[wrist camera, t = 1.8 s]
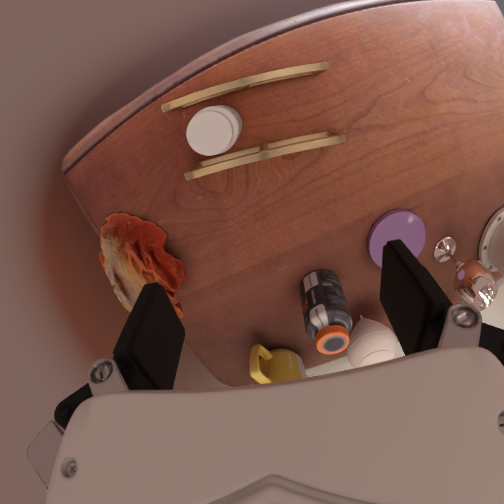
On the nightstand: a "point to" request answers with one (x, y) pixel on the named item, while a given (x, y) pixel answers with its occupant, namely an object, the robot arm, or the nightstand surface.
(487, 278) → the wineglass
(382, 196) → the nightstand surface
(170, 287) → the seashell
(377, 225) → the coaster
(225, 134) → the pill bottle
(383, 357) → the spinning top
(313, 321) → the pill bottle
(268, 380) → the mug
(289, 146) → the rack
